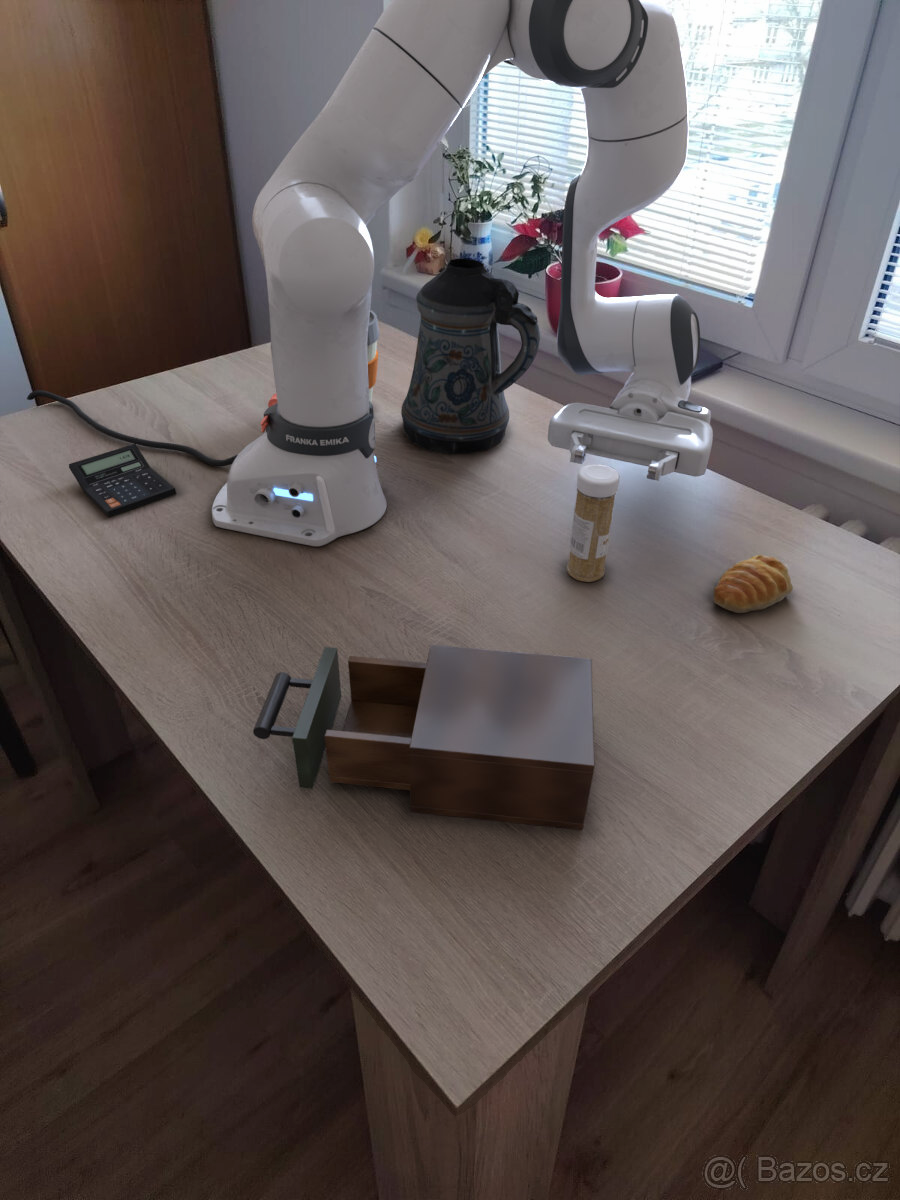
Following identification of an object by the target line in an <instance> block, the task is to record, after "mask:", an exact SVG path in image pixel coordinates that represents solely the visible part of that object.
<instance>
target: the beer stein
mask: <svg viewBox="0 0 900 1200" xmlns="http://www.w3.org/2000/svg"><path fill="white" fill-rule="evenodd" d="M519 295H520V293H519V291H518V289H517V286H516V285H515V284H514V282H512V281H510V280H507V279H502V278H498V277H495V276H494V275H493V274H491V273H490V272H489V271H488V269H487V268H486V265H485V264H484V263H483V262H481V261H480V260H479V261H478V260H477V259H470V258H454V259H450V260H449V261H448V262H447V264H446V267H445V268H444V269H443V270H442V271H440V272H439V273H437V275H435V276H434V277H433V278H431V279H429V281H427V282H426V283H425V284H424V285H423V286H422V287H421V288H420V290H419V291H418V292H417V294H416V297H415V300H416V301H415V302H416V306H417V311H418V313H419V314H420V322H419V330H418V333H417V334H418V335H417V343H416V350H415V358H414V362H413V368H412V374H411V378H410V383H409V387H408V391H407V393H406V396H405V398H404V400H403V402H402V405H401V411H400V414H401V419H402V422H403V425H402V431H403V432H404V434H405V436H406V437H407V438H408V440H409V441H410V443H412V444H414V445H416V446H417V447H420V448H421V449H423V450H425V451H429V452H434V453H440V454H445V455H470V454H474V453H475V454H476V453H480V452H485V451H488V450H490V449H491V448H493V447H495V446H497V445H498V444H500V443H501V442H502V440H503V439H504V438H505V436H506V430H507V428H508V426H509V425H508V424H509V421H510V408H509V406H508V405H509V404H508V403H507V400H506V395H505V390H507V389H508V388H510V387H511V386H513V384H515V383H516V382H518V380H519V379H520V378H521V377H522V376H524V374H525V373H526V372H527V371H528V369H530V367H531V366H532V364H533V362H534V361H535V359H536V357H537V354H538V351H539V348H540V342H541V329H540V326H539V323H538V322H539V321H538V316H537V315H536V314H535V313H534V312H533V311H532V308H530V307H529V306H528V305H526V304H525V303H521V302H519ZM499 325H501V326H502V325H503V326H511V327H513V328H514V329H516V330H517V331H518V333H519V336H520V341H521V346H520V347H521V348H520V350H519V351H518V353H517V355H516V357H515V358H514V360H513V361H512V362H511V363H510V364H509V365H508V366H507V367H506V368H505V369H504V370H503V371H502V364H501V363H502V362H501V361H502V360H501V349H500V348H501V347H500V335H499Z"/></svg>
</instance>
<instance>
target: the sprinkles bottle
mask: <svg viewBox="0 0 900 1200" xmlns="http://www.w3.org/2000/svg"><path fill="white" fill-rule="evenodd" d="M620 477H621V476H620V473H619V472H618V470H616V469H615V468H614V467H611V466H609V465H605V464H598V463H595V464H594V463H593V464H588V465H587V464H586V465H585V466H582V467H581V468H580V469H579V470H578V472H577V477H576V498H575V506H574V510H573V518H572V526H571V535H570V543H569V549H570V550H569V556H568V563H567V564H566V572H567V573H568V575H569V576H570V577H571V578H573V579H575V580H576V581H579V582H585V583H586V582H587V583H591V582H596V581H599V580H600V579H602V578H603V576H604V575H605V572H606V570H605V566H606V558H607V553H608V548H609V541H610V535H611V527H612V522H613V512H614V505H615V500H616V498H615V497H616V495H617V493H618V491H619V487H620Z"/></svg>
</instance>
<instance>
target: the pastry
mask: <svg viewBox="0 0 900 1200" xmlns="http://www.w3.org/2000/svg"><path fill="white" fill-rule="evenodd" d="M793 589H794V587H793V584H792V578H791V576H790V575H789V570H788V568H787V566H786V565H785V564H784V563H783V562H781V560H779V559H777V558H776V557H773V556H770V555H767V556H765V555H763V554H758V555H753V556H751V557H750V558H748V559H744V560H741V561H738V563H735V564H734V565H733V566H731V567H730V568H728V569H727V570H726V571H725V572H724V573H723V574H722V575H721V577H720V578H719V580H718V583H717V585H716V586H715V587H714V589H713V602H714V604H716V605H718V606H720V607H721V608H723V609H725V610H728V611H729V612H733V613H737V614H743V613H745V614H747V613H749V612H752V611H753V612H754V611H761V610H765V609H766V608H769V607H771V606H773V605H775V604H776V603H779V602H782V601H783V600H784V598H785V597H787V596H788V595H789V594H791V593H792V592H793Z"/></svg>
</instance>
